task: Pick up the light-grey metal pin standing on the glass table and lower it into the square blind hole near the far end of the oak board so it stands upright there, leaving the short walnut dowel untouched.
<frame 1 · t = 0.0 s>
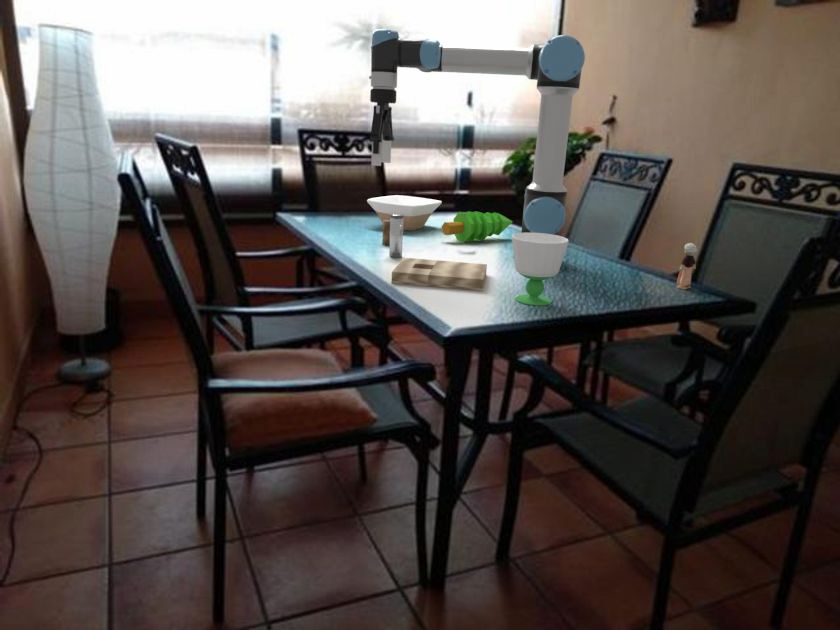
hand: (381, 164, 189), 28 cm above the table, fingers open, 13 cm apart
board: (440, 278, 174), on the table
decorative tree: (479, 241, 231), on the table
cup: (533, 301, 158), on the table
bowl: (403, 227, 250), on the table
walnut dowel: (388, 244, 216), on the table
pin: (395, 256, 198), on the table
grandmother figurine: (682, 288, 178), on the table
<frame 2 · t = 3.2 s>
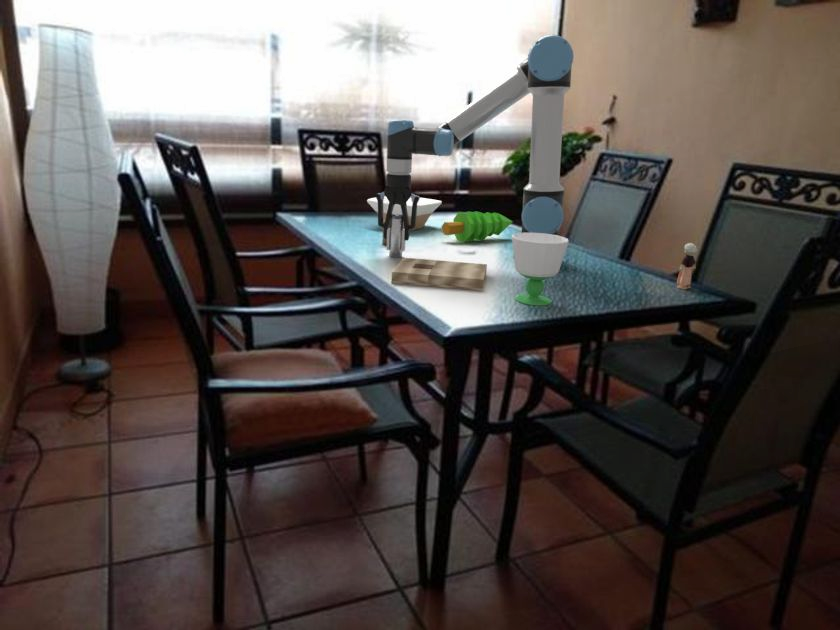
hand: (395, 249, 198), 2 cm above the table, fingers closed on pin, 4 cm apart
pin: (395, 256, 198), on the table, touching gripper
everything else where it was.
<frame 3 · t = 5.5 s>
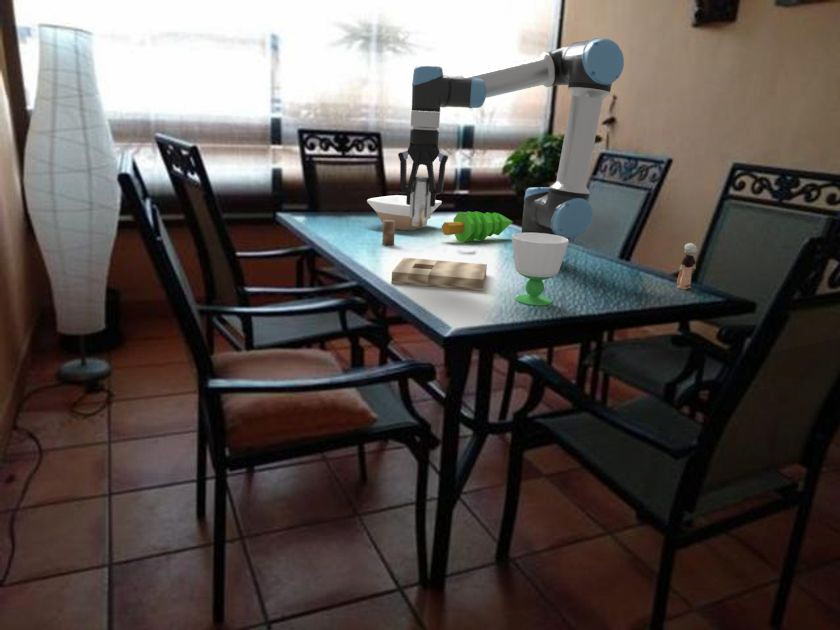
hand: (420, 217, 174), 16 cm above the table, fingers closed on pin, 4 cm apart
pin: (419, 225, 175), point 14 cm above the table, touching gripper
everything else where it was.
when the fingers open (5 cm above the table, at t = 8.1 s): pin drops 1 cm, resting on board.
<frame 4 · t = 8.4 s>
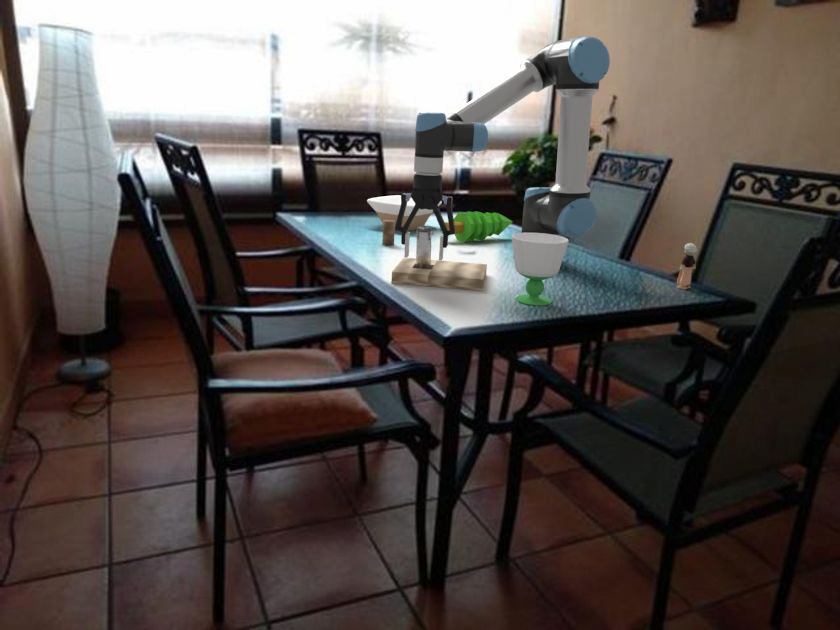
hand: (423, 257, 173), 5 cm above the table, fingers open, 9 cm apart
pin: (423, 274, 175), point 1 cm above the table, touching board
everything else where it was.
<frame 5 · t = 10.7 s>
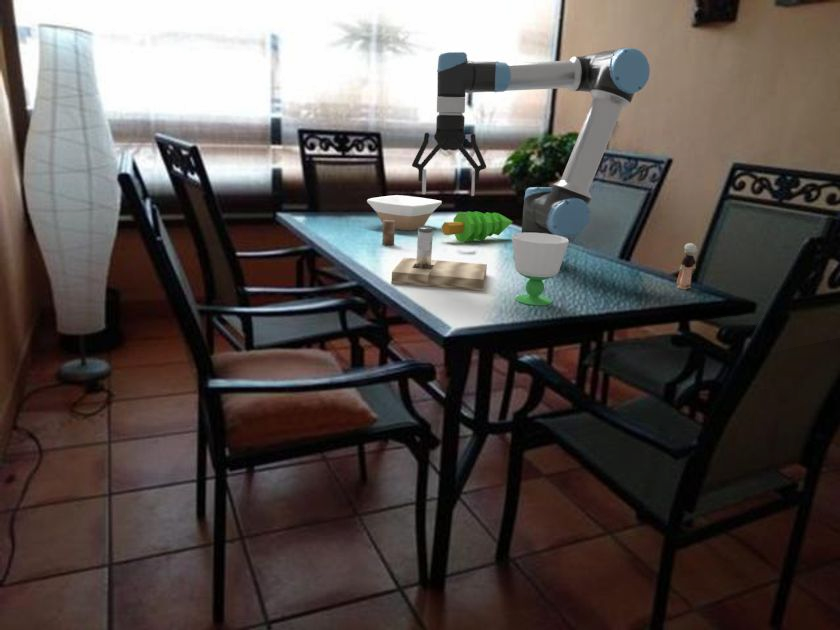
hand: (448, 194, 176), 22 cm above the table, fingers open, 13 cm apart
nothing on the table moved.
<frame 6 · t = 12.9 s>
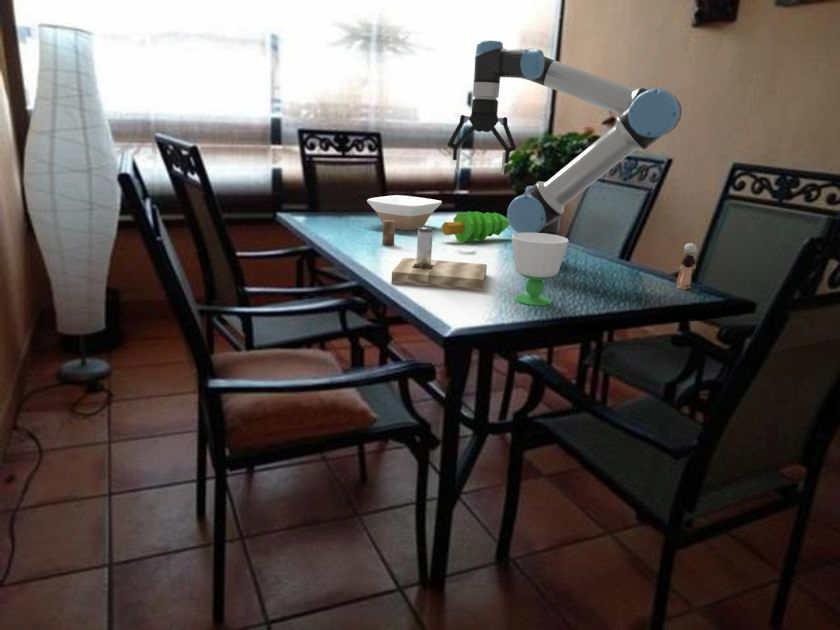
hand: (479, 173, 191), 27 cm above the table, fingers open, 13 cm apart
nothing on the table moved.
at the end: pin 0.1 cm from the target spot on the board, point 0.6 cm above the board's base; pin tilted 0°; the gripper is holding nothing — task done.
